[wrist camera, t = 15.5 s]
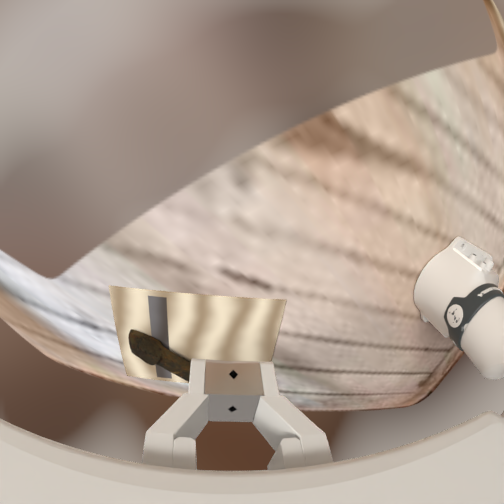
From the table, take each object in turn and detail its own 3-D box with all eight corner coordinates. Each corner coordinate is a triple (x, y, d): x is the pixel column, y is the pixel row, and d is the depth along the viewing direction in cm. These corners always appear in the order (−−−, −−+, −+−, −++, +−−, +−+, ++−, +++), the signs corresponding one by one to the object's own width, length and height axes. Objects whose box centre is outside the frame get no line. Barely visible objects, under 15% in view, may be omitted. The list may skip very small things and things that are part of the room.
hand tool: (222, 373, 52) (223, 392, 47) (208, 382, 53) (208, 400, 48) (140, 318, 44) (134, 337, 40) (128, 330, 45) (121, 349, 41)
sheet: (285, 296, 46) (286, 300, 45) (263, 382, 55) (264, 386, 54) (110, 282, 42) (108, 286, 41) (127, 372, 52) (126, 375, 51)
